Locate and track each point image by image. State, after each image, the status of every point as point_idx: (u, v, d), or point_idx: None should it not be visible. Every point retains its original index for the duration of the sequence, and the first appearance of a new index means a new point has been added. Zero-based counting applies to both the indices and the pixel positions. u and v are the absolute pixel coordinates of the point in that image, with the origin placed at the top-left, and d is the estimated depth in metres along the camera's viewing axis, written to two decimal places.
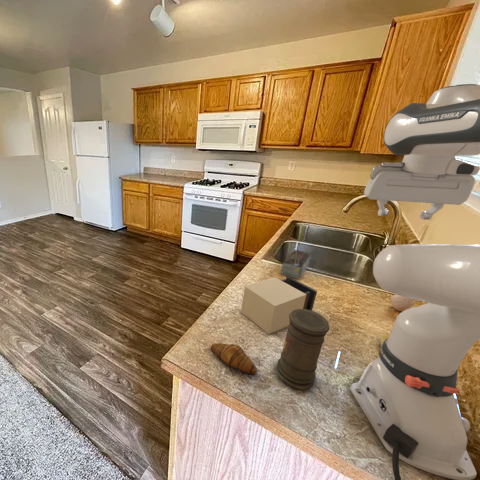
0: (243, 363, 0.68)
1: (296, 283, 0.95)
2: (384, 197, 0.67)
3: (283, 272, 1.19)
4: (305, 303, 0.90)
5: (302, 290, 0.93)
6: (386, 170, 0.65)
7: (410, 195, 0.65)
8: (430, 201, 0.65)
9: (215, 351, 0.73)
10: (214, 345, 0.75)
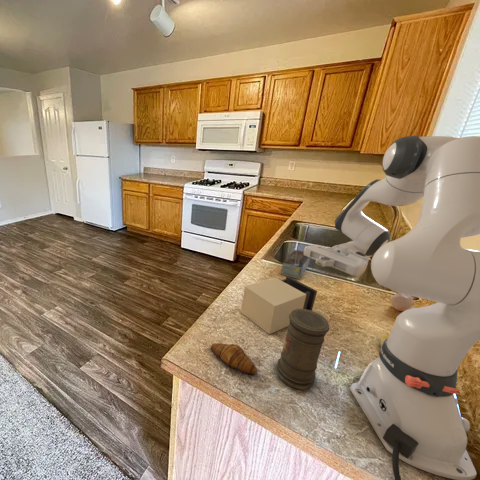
0: (243, 363, 0.68)
1: (296, 283, 0.95)
2: (313, 249, 1.02)
3: (283, 272, 1.19)
4: (305, 303, 0.90)
5: (302, 290, 0.93)
6: None
7: (327, 253, 0.98)
8: (338, 259, 0.94)
9: (215, 351, 0.73)
10: (214, 345, 0.75)
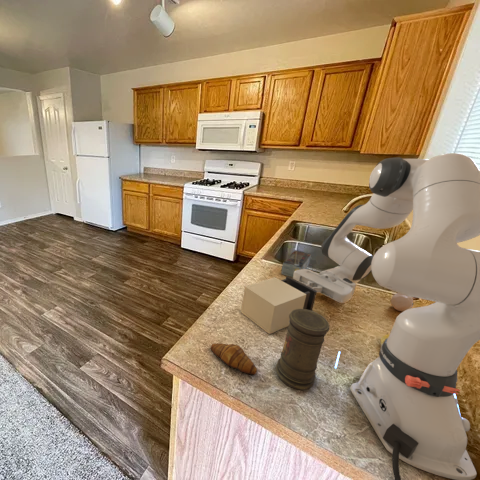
0: (243, 363, 0.68)
1: (296, 283, 0.95)
2: (302, 274, 1.04)
3: (283, 272, 1.19)
4: (305, 303, 0.90)
5: (302, 290, 0.93)
6: None
7: (316, 279, 1.00)
8: (325, 285, 0.96)
9: (215, 351, 0.73)
10: (214, 345, 0.75)
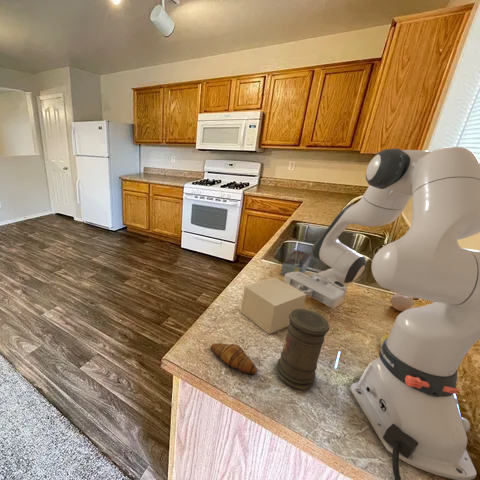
0: (243, 363, 0.68)
1: None
2: (293, 277, 1.01)
3: (283, 272, 1.19)
4: None
5: None
6: None
7: (306, 282, 0.98)
8: (316, 289, 0.93)
9: (215, 351, 0.73)
10: (214, 345, 0.75)
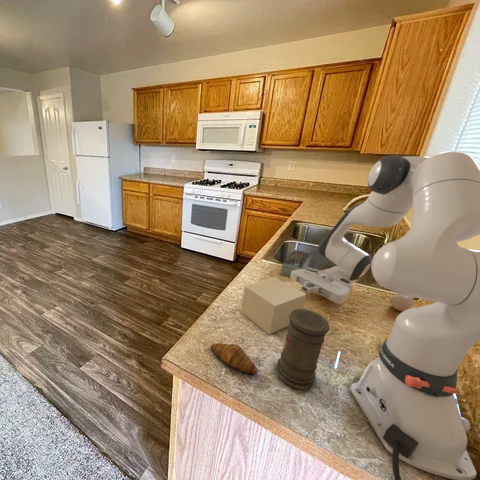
0: (243, 363, 0.68)
1: None
2: (299, 274, 1.03)
3: (283, 272, 1.19)
4: None
5: None
6: None
7: (313, 279, 1.00)
8: (322, 286, 0.95)
9: (215, 351, 0.73)
10: (214, 345, 0.75)
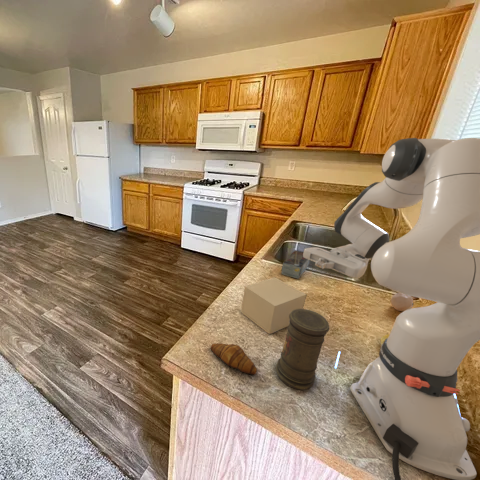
0: (243, 363, 0.68)
1: None
2: (313, 251, 1.02)
3: (283, 272, 1.19)
4: None
5: None
6: None
7: (327, 255, 0.98)
8: (337, 261, 0.94)
9: (215, 351, 0.73)
10: (214, 345, 0.75)
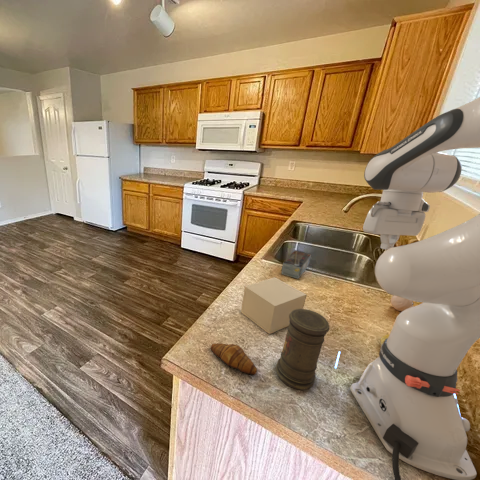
0: (243, 363, 0.68)
1: None
2: (383, 231, 0.75)
3: (283, 272, 1.19)
4: None
5: None
6: (382, 208, 0.74)
7: (395, 229, 0.76)
8: (404, 233, 0.78)
9: (215, 351, 0.73)
10: (214, 345, 0.75)
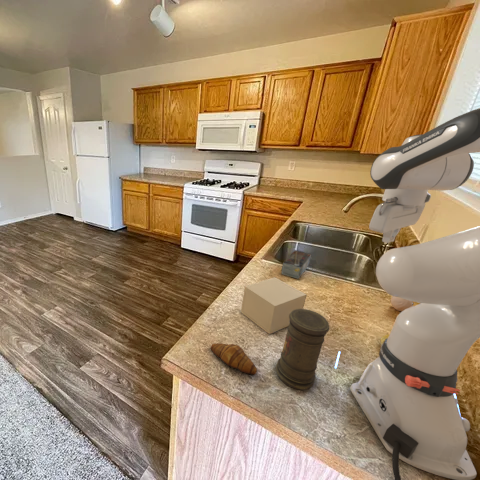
0: (243, 363, 0.68)
1: None
2: (389, 229, 0.73)
3: (283, 272, 1.19)
4: None
5: None
6: (390, 205, 0.71)
7: (399, 223, 0.75)
8: (406, 225, 0.77)
9: (215, 351, 0.73)
10: (214, 345, 0.75)
